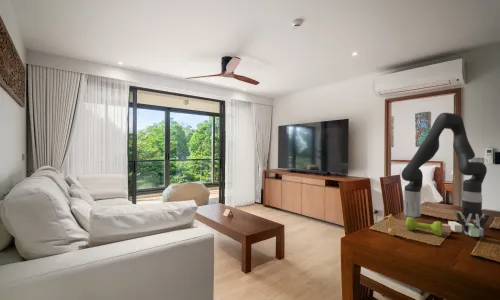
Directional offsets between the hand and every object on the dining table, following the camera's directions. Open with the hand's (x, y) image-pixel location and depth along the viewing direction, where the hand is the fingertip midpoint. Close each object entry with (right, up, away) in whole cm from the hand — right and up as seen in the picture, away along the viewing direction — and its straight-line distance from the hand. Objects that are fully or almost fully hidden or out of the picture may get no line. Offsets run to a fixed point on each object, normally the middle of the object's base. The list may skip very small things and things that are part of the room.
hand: (471, 232), depth 120 cm
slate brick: (+5, -3, +4) cm, 7 cm away
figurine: (-40, -3, +3) cm, 40 cm away
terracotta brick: (-8, -3, +9) cm, 12 cm away
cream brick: (+1, -3, +11) cm, 11 cm away
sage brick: (0, -1, 0) cm, 1 cm away
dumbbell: (-19, -3, +8) cm, 21 cm away
